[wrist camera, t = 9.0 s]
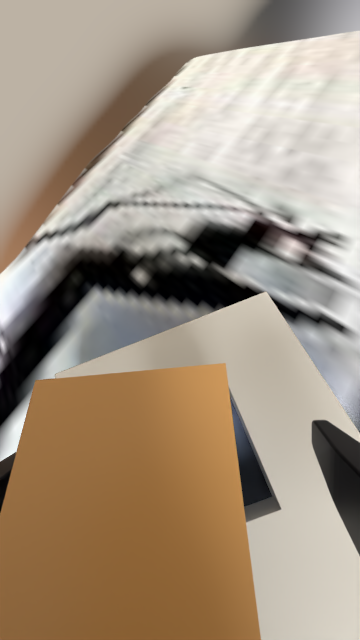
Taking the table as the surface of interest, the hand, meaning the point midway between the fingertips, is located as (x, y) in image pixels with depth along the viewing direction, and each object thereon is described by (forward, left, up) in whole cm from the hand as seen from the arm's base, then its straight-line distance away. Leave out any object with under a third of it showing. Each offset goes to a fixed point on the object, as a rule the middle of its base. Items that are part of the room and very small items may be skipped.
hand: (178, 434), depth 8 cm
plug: (-1, 0, -8) cm, 8 cm away
